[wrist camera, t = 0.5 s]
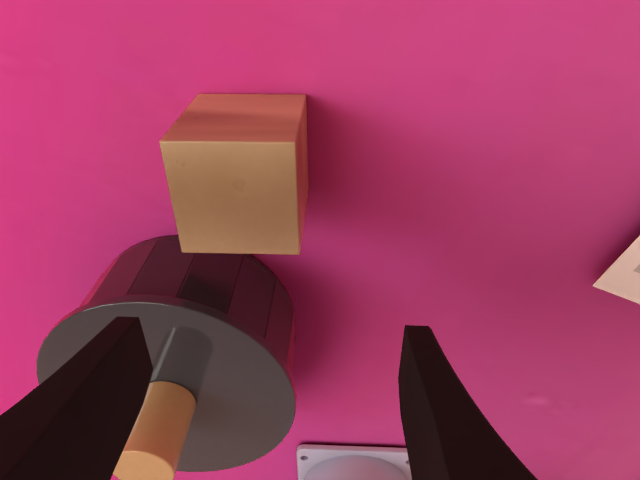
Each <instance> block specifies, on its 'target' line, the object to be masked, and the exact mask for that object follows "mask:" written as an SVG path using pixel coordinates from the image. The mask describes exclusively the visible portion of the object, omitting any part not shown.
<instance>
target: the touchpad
mask: <svg viewBox="0 0 640 480" xmlns="http://www.w3.org/2000/svg"><path fill="white" fill-rule="evenodd" d="M592 286H594V287H596V288H599V289H601V290H604V291H607V292H609V293H612V294H614V295H617V296H620V297H622V298H625V299H627V300H630V301H633V302H635V303H638V304H640V235H639V236H638V238H637V239H636V240H635V241H634V242H633V243H632V244H631V245H630V246H629V247H628V248H627V249H626V250H625V251H624V252H623V253H622V254H621V256H620V257H619V258H618V259H617V260H616V261H615V262H614V263H613V264H612V265H611V266H610V267H609V268H608V269H607V270H606V271H605V272H604V274H603V275H602V276H601V277H600V278H599V279H598V280H597V281H596V282H595V283H594V284H593V285H592Z"/></svg>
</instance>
